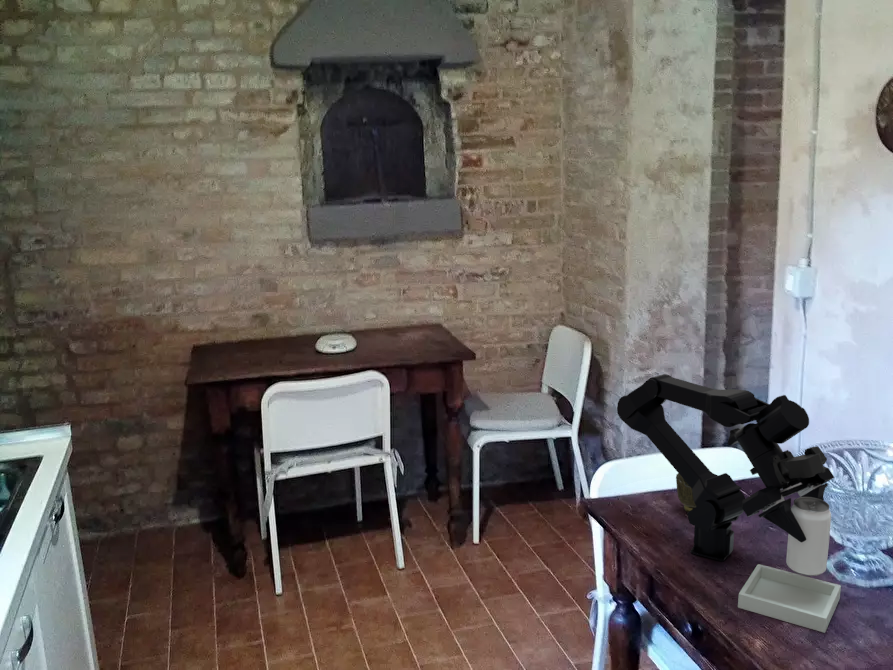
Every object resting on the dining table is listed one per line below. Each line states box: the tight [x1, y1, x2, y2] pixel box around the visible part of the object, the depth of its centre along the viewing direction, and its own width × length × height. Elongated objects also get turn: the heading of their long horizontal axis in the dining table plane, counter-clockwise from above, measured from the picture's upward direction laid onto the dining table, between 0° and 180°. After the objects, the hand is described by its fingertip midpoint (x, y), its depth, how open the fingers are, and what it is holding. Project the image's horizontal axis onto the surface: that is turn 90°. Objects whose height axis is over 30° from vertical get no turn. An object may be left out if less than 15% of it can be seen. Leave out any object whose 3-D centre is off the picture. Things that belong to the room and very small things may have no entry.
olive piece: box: [675, 472, 697, 513], centre depth 180 cm, size 8×7×8 cm
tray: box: [737, 563, 842, 634], centre depth 145 cm, size 14×12×3 cm
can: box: [785, 496, 832, 577], centre depth 145 cm, size 6×6×12 cm
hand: (816, 535), depth 144 cm, fingers closed on can, 6 cm apart
